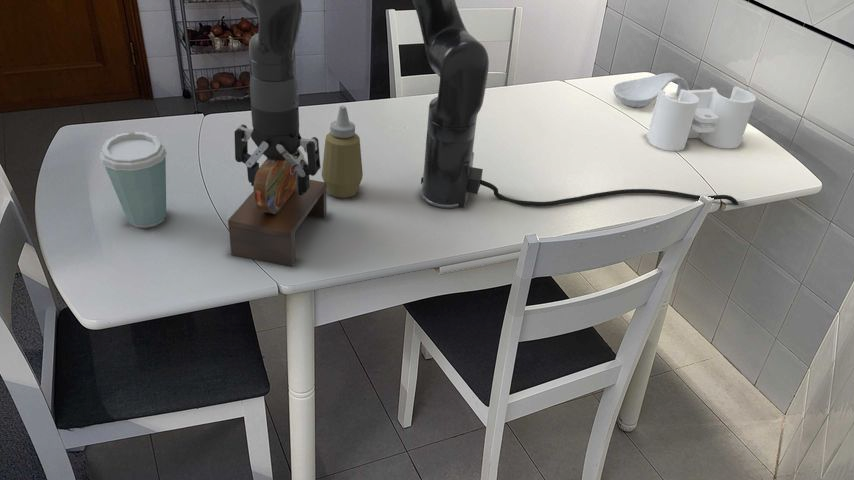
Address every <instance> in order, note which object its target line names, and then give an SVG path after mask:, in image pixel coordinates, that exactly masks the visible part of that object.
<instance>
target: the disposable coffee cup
mask: <svg viewBox="0 0 854 480" xmlns="http://www.w3.org/2000/svg"><path fill="white" fill-rule="evenodd" d="M98 154H99V160H100V162H101V164H102V166H104V168H105V170H106V173H107V175H108V177H109V179H110V182H111V184H112V187H113V189H114V191H115V194H116V197H117V199H118V202H119V205H120V206H121V208H122V211H123V213H124V216H125V218H126V220H127V222H129V224H130V225H131V226H132V227H135V228H139V229H141V228H143V229H147V228H152V227H156V226H158V225H160V224H162V223H163V222H164V220H165V219H166V215H167V164H166V162H167V160H166V158H167V157H166V156H167V154H168V152H167V151H166V148H165V146H164V145H163V143H162V142H161V141H160V139H159V137H158V136H155V135H153V134H151V133H149V132H146V131H145V132H144V131H128V132H123V133H118V134H115V135H113V136H112V137H109V138H108V139H106V140H105V141H104V143H103V145H102V146H101V150H100V152H99V153H98Z"/></svg>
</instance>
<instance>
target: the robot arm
mask: <svg viewBox="0 0 854 480" xmlns="http://www.w3.org/2000/svg"><path fill="white" fill-rule="evenodd" d="M239 2H240V4H241V5H242V7H243V8H245V9H246V10H247V11H248V12H249V13H252V14H253V15H254V16H256V17H257V18H258V30H257V33H254V35H253V36H251V37H250V40H249V42H248V61H249V98H250V111H251V125H252V129H251V128H248V126H247V125H246V124H244V123H243V124H241V125H240V126H238V128H237V129H235V130H234V159H235V161H236V162H237V163H243V164H244V165H245V166H246V169H247V171H246V172H247V180H248V182H249V183H250V185H251V186H252V187H254V180H255V176H256V173H257V171H258V169H259V168H260V163H259V162H258V161H259V159H260V158H261V157H262V156H264V157H266V159H267V158H269V159H278V160H280V161H285V160H286V161H287V162H288V163H289V165H290V166H291V167H293V168H294V169H295V170H296V171H297V173H298V174H299V176H298V194H299V195H304V193H306V192H307V190H308V189H309V187H310V184H309V179H310V176H312V177H313V176H316V175H317V173H318V171H319V170H320V169H321V157H320V142H319V139H318V138H317V137H316V136H313V137H311V138H302V136H301V134H300V108H299V105H300V104H299V103H300V102H299V101H300V95H299V86H298V79H297V67H296V64H297V63H296V44H297V41H298V38H299V33H300V26H301V22H302V18H303V17H302V16H303V1H302V0H239ZM411 2H412V4H413V6H414V7H413V8H414V9H415V13H416V15H417V18H418V22H419V27H420V31H421V32H420V33H421V36H422V40H423V45H424V51H425V54H426V58H427V61H428V64H429V66H430V67H431V69H432V70H433V72H434V73H435V74H436V75H437V76H438V77H439V84H438V85H439V86H438V94H437V96H436V97H434V98H432V99H431V101H430V102H429V105H428V113H427V128H426V137H425V139H426V140H425V150H424V162H423V163H424V164H423V174H422V175H423V176H422V177H421V178H420V185H421V193H420V195H421V198H422V199H423V201H424V202H425V203H427V204H429V205H431V206H433V207H436V208H441V209H454V208H465V206H466V203H467V202H468V198H469V196H470V194H472V195H473V194H474V195H478V193H479V190H480V188H481V186H483V187H485V188H488V189H490V190H492V191H493V195H494V196H495V198H497V199H499V200H500V201H504V202H505V201H506V202H507V203H511V204H515V205H519V206H528V207H553V206H559V205H564V204H570V203H571V204H572V203H576V202H582V201H587V200H591V199H592V200H593V199H597V198H604V197H611V196H616V195H617V196H618V195H628V194H629V195H630V194H650V195H651V194H652V195H653V194H654V195H665V196H666V195H667V196H674V197H680V198H685V199H691V200H697V201H700V200H699V198H700V196H701V195H697V194H693V193H692V194H691V193H686V192H680V191H673V190H667V189H654V188H627V189H616V190H608V191H603V192H595V193H590V194H585V195H580V196H575V197H574V196H573V197H567V198H562V199H557V200H556V199H555V200H550V201H534V200H519V199H514V198H510V197H507V196H505V195H503V194H501V193H499V189H498V187H497V186H496V185H494V184H493V183H491V182H488V181H486V180H483V179H482V178H483V172H484V169H483V168H479V167H475V166H474V157H475V153H474V144H475V137H476V129H477V120H478V116H479V115H478V114H479V112H480V111H481V109H482V108H483V104H484V99H485V94H486V87H487V81H488V75H489V67H490V66H489V64H490V63H489V62H490V61H489V53H488V51H487V49H486V47H485V46H484V45H483V44H482V43H481V42H480V41H479V40H477V39H476V38H475V37H474V36H473V35H472V34H471V33H470V32H469V31H468V30H467V28H466V26H465V25H464V24H465V23H464V22H463V19H462V17H461V14H460V11H459V8H458V6H457V2H456V0H411ZM250 138H251V140H252V142H253V143H254V144H255V146H256V147H257V148H256V149H255V151H253V153H252V154H250V153H249V152H248V151H249V150H248V149H249V147H248V142H249V140H250ZM300 147H302V148H303V151H304V153H306V157H307V160H306V159H305V156H304V154H303V152H302V151H301V150H300ZM293 154H294V156H295V158H294V157H293V156H292V155H293ZM707 196H708V197H711V198H714V200H713V201H715V200H727V201H729V202H731V204H733V205H734V206H735V205H736V206H738V205H739V202H738V200H737V199H736V198H735V197H733V196H732V195H729V194H716V195H714V194H713V195H707Z"/></svg>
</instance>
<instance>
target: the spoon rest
mask: <svg viewBox="0 0 854 480" xmlns="http://www.w3.org/2000/svg"><path fill="white" fill-rule="evenodd" d="M673 81H676V82H677V88H676V91H675V94H676V95H677V96H678V97H679V94H680V91H681V89H684V90H690V87H689V83H688V81H687V80H686V79H684V78H683V77H680V76H679V75H678V74H676V73H673V72H663V73H659V74H654V75H650V76H647V77H642V78H636V79H632V80H626V81H621V82H619V83H615V85H614V86H613V88H612V90H613V94H614V96H615V97H616V99H617V100H618V101H619V102H620V103H622V104H623V105H625V106H628V107H630V108H636V109H637V108H638V109H639V108H645V107H646V106H648V105H650V104H651V103H653V102H654V101H655V100H657V97H658V93H659V90H663V91H664V89H665V88H666V87H667V86H668V85H669V84H670V83H671V82H673Z"/></svg>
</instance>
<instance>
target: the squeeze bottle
mask: <svg viewBox="0 0 854 480" xmlns="http://www.w3.org/2000/svg"><path fill="white" fill-rule="evenodd" d="M329 129H330V130H329V131H330V132H328V133H327V134H325V140H324V148H323V159H322V167H321V168H322V169H321V178H322V180H323V182H326V192H328V193H327V194H329V195H330V196H332V197H336V198H341V199H345V198H352V197H354V196H355V195H356V194H357V193H358V190H359V189H360V188H359V187H360V185H361V183H362V180H363V175H364V172H363V161H362V147H361V138H360V136H359V134H357V133H356V124H355V123H354V122H352V121H350V118H349V114H348V109H347V106H346V105H339V108H338V113H337V117H336V120H334V121H332V122H331V123H330V127H329Z"/></svg>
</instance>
